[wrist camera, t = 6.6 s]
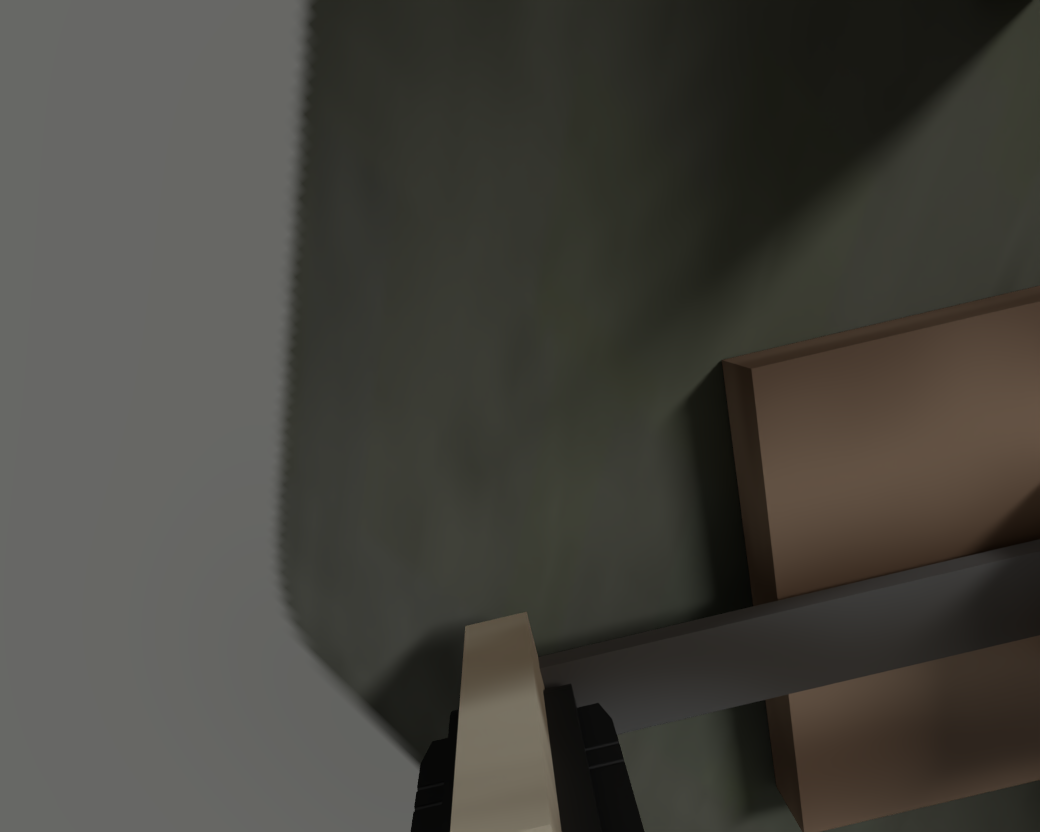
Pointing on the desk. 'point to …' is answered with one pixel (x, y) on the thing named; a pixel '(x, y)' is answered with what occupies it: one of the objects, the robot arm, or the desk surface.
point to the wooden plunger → (716, 668)
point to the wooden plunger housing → (895, 541)
